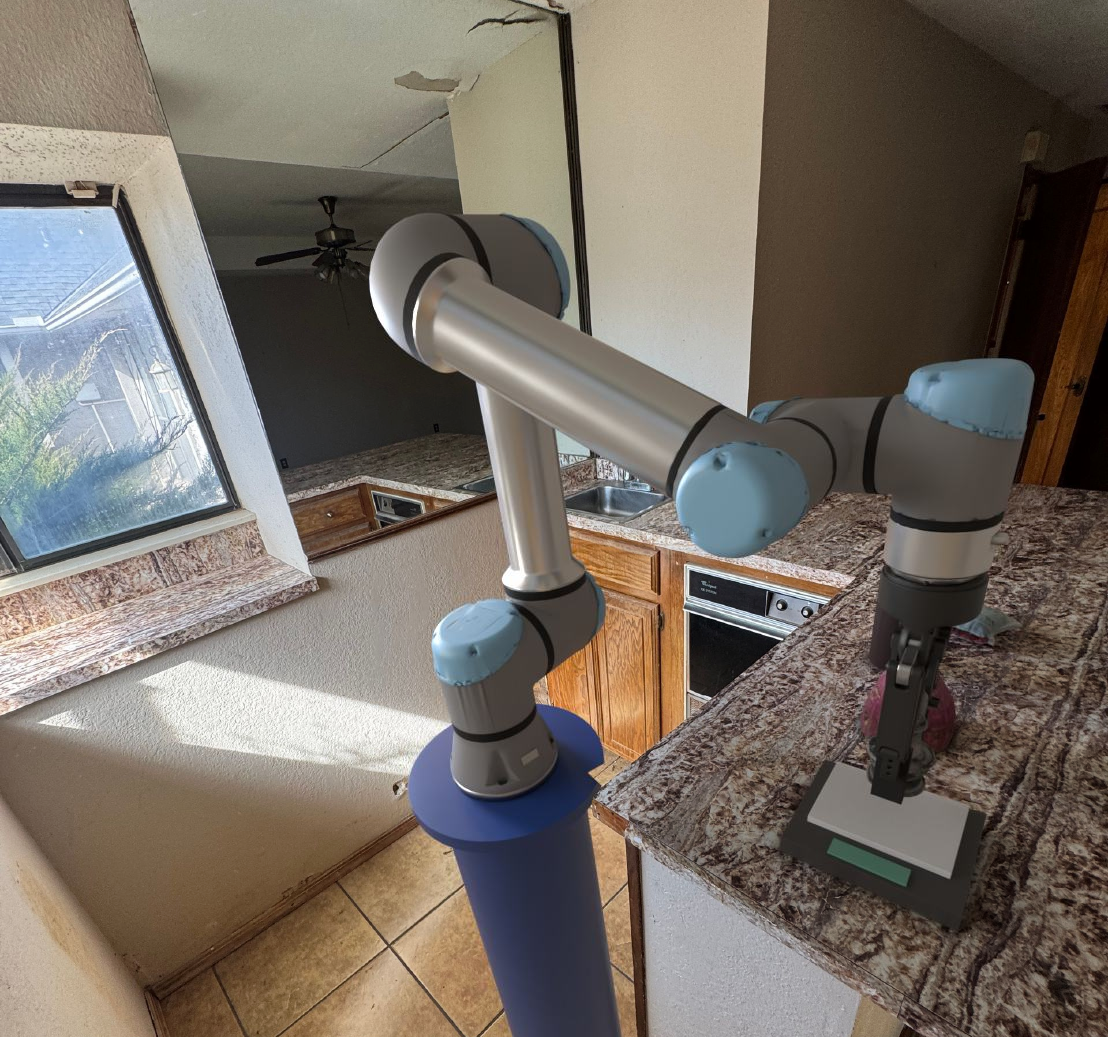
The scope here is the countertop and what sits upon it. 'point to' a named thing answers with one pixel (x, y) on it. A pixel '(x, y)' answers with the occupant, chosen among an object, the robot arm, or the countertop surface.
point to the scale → (888, 842)
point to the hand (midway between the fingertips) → (895, 776)
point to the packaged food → (985, 626)
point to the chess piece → (920, 758)
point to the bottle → (882, 637)
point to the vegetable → (938, 719)
